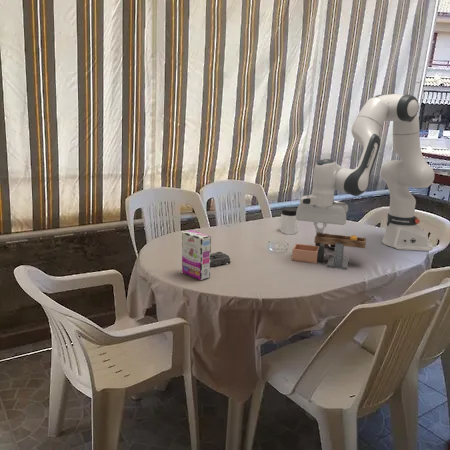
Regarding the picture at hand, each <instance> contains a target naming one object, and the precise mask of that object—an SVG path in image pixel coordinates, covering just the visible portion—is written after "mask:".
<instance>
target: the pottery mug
mask: <svg viewBox="0 0 450 450" xmlns="http://www.w3.org/2000/svg"><path fill="white" fill-rule="evenodd" d="M324 234H328V233H327V232H326V233H324ZM314 246H320V243H315V244H314ZM325 248H334V249H335V245H330V244H325Z"/></svg>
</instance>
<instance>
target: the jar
mask: <svg viewBox="0 0 450 450" xmlns="http://www.w3.org/2000/svg"><path fill="white" fill-rule="evenodd" d="M297 208H298V207H297ZM297 208H296V207H288V206H287V207H282V208H281V209H282V210H281V215H280V226H279V230H280V231H279V232H280V233H282V234H285V235H296V234H298V231H299V220H297V219H296V212H297Z"/></svg>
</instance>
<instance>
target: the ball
mask: <svg viewBox="0 0 450 450" xmlns="http://www.w3.org/2000/svg"><path fill="white" fill-rule="evenodd" d="M350 236H351V237H350V240H355V241H357V237H358V236H357V235H354V234H353V235H350Z"/></svg>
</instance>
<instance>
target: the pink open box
mask: <svg viewBox="0 0 450 450" xmlns="http://www.w3.org/2000/svg"><path fill="white" fill-rule="evenodd" d="M318 255H319V246H315V245H312V244H311V245H310V244H303V243H295V244H294V245H293V249H292V255H291V261H293V262H299V263H300V262H301V263H308V264H318Z"/></svg>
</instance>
